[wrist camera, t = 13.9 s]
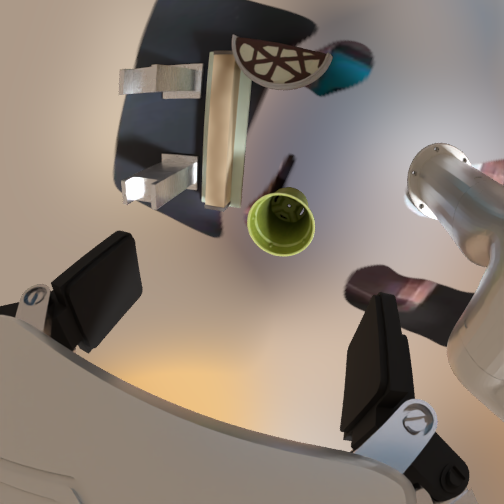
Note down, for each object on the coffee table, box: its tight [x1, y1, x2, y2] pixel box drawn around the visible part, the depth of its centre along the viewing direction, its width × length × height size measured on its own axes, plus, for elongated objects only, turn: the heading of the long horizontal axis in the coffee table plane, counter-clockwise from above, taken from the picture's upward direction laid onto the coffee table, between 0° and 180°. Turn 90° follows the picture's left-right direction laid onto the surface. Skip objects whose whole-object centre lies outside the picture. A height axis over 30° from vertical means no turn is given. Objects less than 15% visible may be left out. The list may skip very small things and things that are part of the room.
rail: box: [205, 51, 241, 211], centre depth 39 cm, size 3×25×3 cm, turn 175°
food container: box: [232, 35, 333, 90], centre depth 30 cm, size 12×6×10 cm, turn 78°
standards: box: [119, 64, 204, 210], centre depth 37 cm, size 7×22×13 cm, turn 175°
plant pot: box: [247, 187, 315, 256], centre depth 41 cm, size 9×9×9 cm
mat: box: [202, 52, 252, 208], centre depth 41 cm, size 7×26×1 cm, turn 175°
